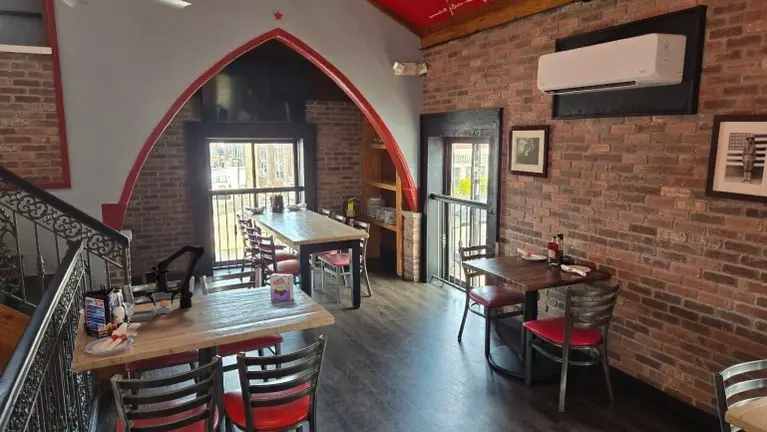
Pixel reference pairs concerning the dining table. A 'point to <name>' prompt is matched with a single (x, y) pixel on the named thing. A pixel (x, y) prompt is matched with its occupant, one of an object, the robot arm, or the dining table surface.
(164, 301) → the ball
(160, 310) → the light blue storage bin
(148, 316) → the tray
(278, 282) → the candy box
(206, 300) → the dining table surface
